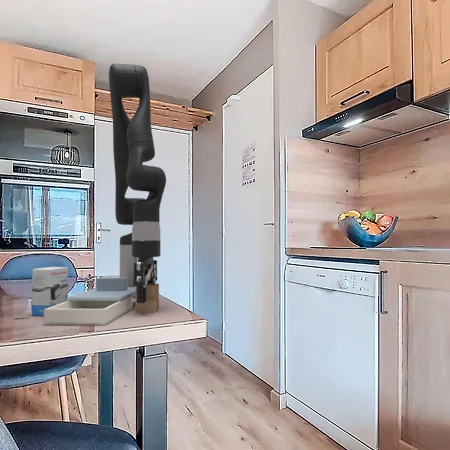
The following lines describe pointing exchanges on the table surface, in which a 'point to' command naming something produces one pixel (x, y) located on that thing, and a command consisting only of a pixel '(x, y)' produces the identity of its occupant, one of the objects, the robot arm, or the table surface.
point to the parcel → (149, 300)
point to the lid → (107, 290)
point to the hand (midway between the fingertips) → (146, 300)
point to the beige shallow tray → (86, 312)
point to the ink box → (48, 288)
